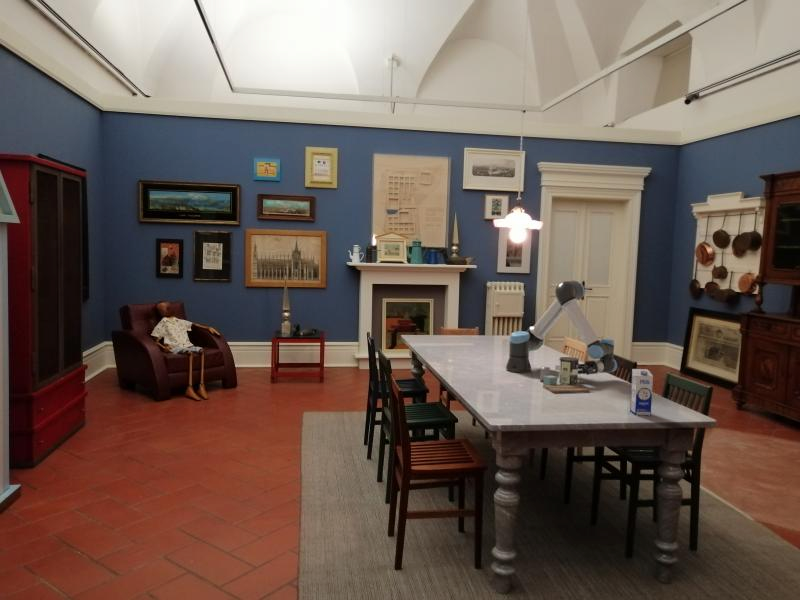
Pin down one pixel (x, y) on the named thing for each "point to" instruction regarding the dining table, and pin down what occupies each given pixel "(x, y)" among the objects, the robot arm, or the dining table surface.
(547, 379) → the teal cube
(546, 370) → the metal cylinder
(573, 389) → the walnut board
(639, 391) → the milk carton
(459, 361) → the dining table surface
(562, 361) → the coffee can
